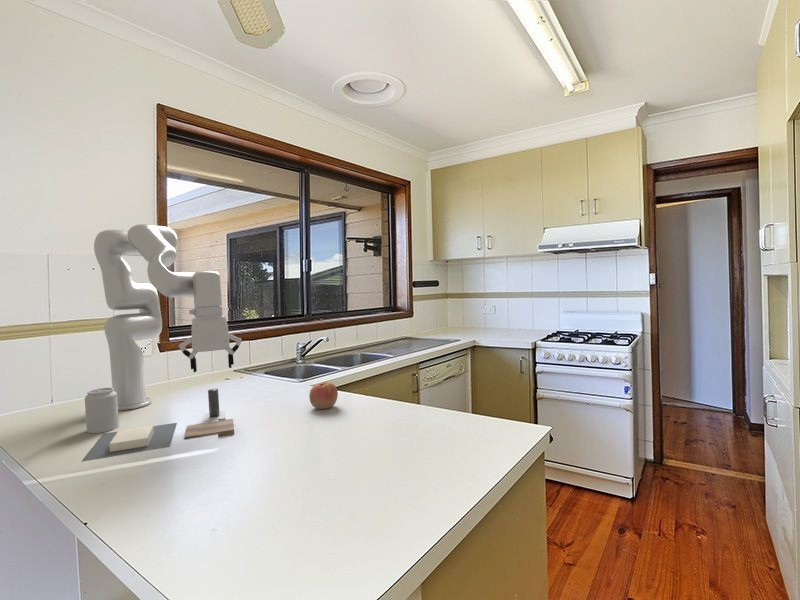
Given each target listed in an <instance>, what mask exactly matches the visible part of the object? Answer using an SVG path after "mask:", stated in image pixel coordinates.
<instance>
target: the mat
mask: <svg viewBox="0 0 800 600" xmlns="http://www.w3.org/2000/svg"><path fill="white" fill-rule="evenodd" d="M177 425H178V422H173V423H165V424H159V425H152V426H153V428H154V434H153V436H152V438H151V440H150V443H149V445H148V446H144V447H138V448H132V449H126V450H120V451H114V452H110V446H109V444H110V442H111V441H112V439H113V438H114V437H115V435H116V434H117V432H118V431H119V430H117V431H112V432H103V433H102V435H101V436H100V437H99V438H98V439H97V441H96V442H95V443H94V444H93V446H92V447H91V448H90V450H89V451H88V452H87V454H86V455H85V456H84V457H83V458H82V460H81V461H80V462H86V461H88V462H89V461H92V460H99V459H105V458H110V457H115V456H117V457H118V456H122V455H129V454H134V453H135V454H136V453H140V452H146V451H153V450H159V449H165V448H170V447H171V445H172V441H173V437H174V434H175V430H176V427H177Z"/></svg>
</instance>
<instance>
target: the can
mask: <svg viewBox="0 0 800 600" xmlns="http://www.w3.org/2000/svg"><path fill="white" fill-rule="evenodd" d="M113 390H114V388H112V387H102V388H96V389H92V390H89V391H87V393H86V394H87V395H86V396H85V397H84V406H85V408H84V409H85V410H84V411H85V422H86V424H85V425H86V433H88V434H101V433H102V434H103V433H108V432H110V431H113V430H115V429H117V428H119V427H120V422H119V421H120V420H119V411H118V403H117V393H116V392H115V391H113Z"/></svg>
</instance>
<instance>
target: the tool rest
mask: <svg viewBox="0 0 800 600" xmlns="http://www.w3.org/2000/svg"><path fill="white" fill-rule="evenodd" d="M212 435H217V437H222V436H229V435H230V436H231V435H235V424H234V419H233V418H230V419H226V420H222V421H218V420H214V421H208V422H203V423H198V424H196V423H195V424H190V425H187V426H186V429H185V433H184V440H186V439H187V440H189V439H194V438H200V437H205V436H207V437H208V436H212Z"/></svg>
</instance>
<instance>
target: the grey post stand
mask: <svg viewBox="0 0 800 600" xmlns="http://www.w3.org/2000/svg"><path fill="white" fill-rule="evenodd" d="M207 397H208V399H207V400H208V413H204V414H203V421H202V422H203V423H206V422H213V421H222V420H227V419H226V410H222V411H220V400H219V399H220V396H219V388H210V389H208V390H207Z"/></svg>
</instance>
